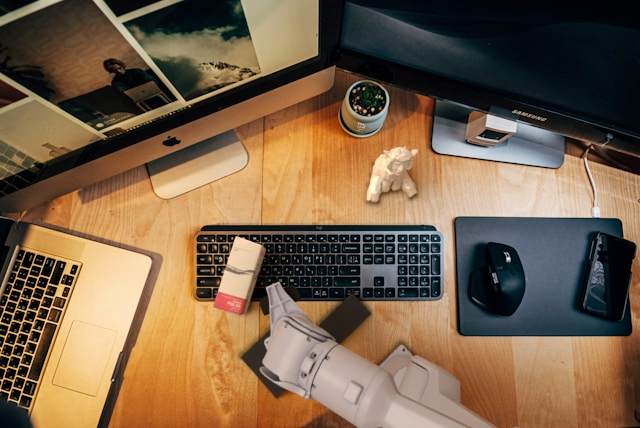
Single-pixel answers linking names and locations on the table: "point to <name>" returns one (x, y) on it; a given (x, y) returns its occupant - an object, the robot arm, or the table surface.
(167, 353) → the table surface
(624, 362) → the table surface
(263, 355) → the base pad
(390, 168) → the seated beast figurine
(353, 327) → the pad
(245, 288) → the ink box
